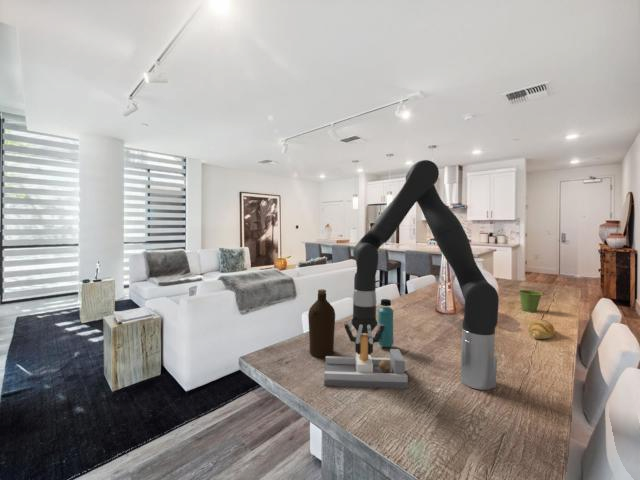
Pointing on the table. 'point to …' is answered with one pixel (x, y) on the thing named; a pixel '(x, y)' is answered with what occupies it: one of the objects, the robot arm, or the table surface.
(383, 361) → the walnut
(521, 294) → the plant pot
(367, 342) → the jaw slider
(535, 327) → the croissant
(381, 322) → the beverage bottle
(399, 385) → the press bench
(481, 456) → the table surface
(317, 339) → the olive oil
